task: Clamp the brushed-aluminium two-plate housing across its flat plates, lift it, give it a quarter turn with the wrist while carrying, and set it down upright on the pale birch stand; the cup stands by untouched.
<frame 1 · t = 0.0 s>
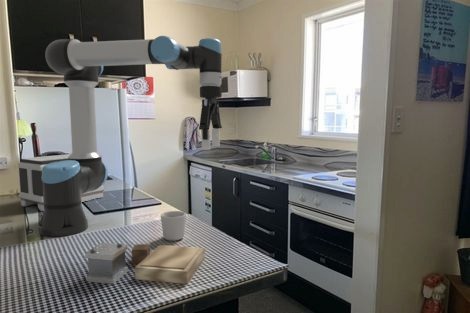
hand: (211, 148, 123), 28 cm above the table, fingers open, 13 cm apart
cup: (174, 237, 114), on the table
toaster: (68, 201, 163), on the table
walnut block: (141, 261, 95), on the table
housing: (107, 276, 86), on the table
stand: (172, 268, 90), on the table
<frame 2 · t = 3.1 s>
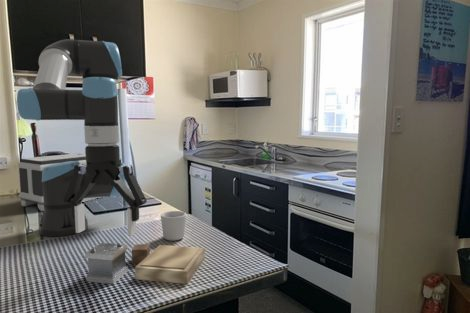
hand: (106, 232, 85), 11 cm above the table, fingers open, 13 cm apart
nothing on the table moved.
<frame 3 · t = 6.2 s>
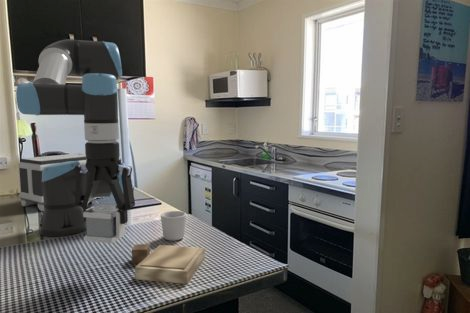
hand: (106, 235, 85), 10 cm above the table, fingers closed on housing, 7 cm apart
housing: (106, 236, 85), point 10 cm above the table, touching gripper
everything else where it was.
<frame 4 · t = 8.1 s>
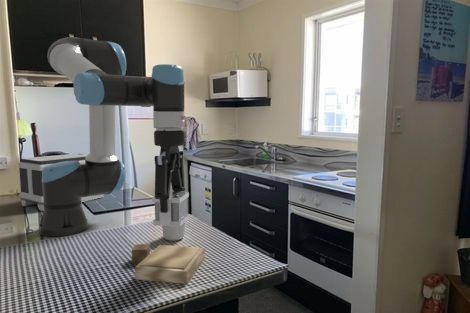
hand: (171, 220, 89), 13 cm above the table, fingers closed on housing, 7 cm apart
housing: (171, 221, 89), point 12 cm above the table, touching gripper
everything else where it was.
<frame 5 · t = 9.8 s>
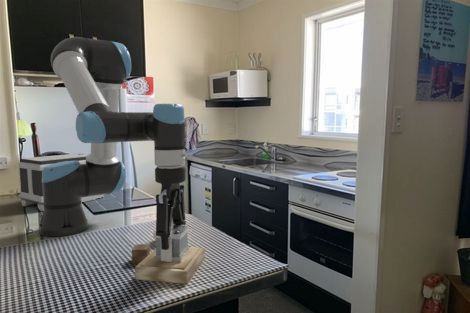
hand: (172, 254, 90), 4 cm above the table, fingers closed on housing, 7 cm apart
housing: (172, 255, 90), point 3 cm above the table, touching gripper, stand
everything else where it was.
when the fingers open (4 cm above the table, at t = 10.4 s): housing stays where it is, resting on stand.
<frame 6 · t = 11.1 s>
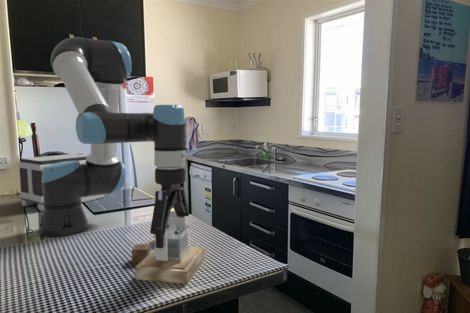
hand: (172, 249, 90), 5 cm above the table, fingers open, 13 cm apart
housing: (172, 255, 90), point 3 cm above the table, touching stand
everything else where it was.
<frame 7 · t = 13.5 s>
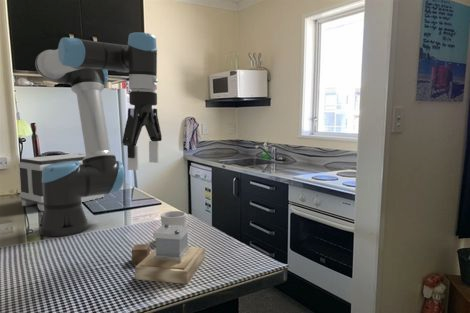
hand: (144, 166, 101), 25 cm above the table, fingers open, 13 cm apart
nothing on the table moved.
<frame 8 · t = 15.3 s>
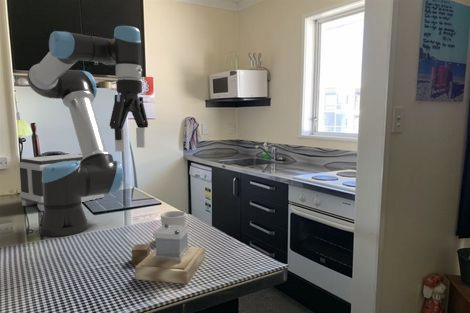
hand: (131, 149, 109), 29 cm above the table, fingers open, 13 cm apart
nothing on the table moved.
at the end: housing inside the target area on the stand (0.1 cm from its centre), point 3.3 cm above the stand's base; housing tilted 0°; the gripper is holding nothing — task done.
